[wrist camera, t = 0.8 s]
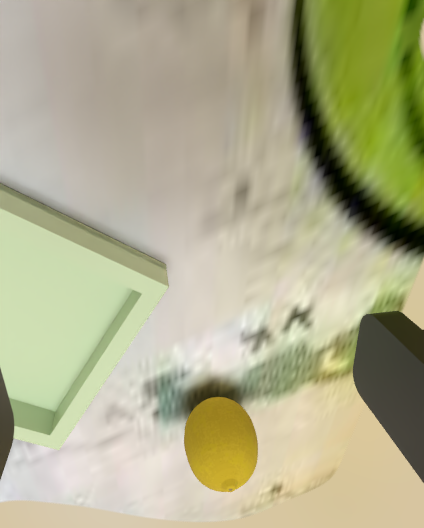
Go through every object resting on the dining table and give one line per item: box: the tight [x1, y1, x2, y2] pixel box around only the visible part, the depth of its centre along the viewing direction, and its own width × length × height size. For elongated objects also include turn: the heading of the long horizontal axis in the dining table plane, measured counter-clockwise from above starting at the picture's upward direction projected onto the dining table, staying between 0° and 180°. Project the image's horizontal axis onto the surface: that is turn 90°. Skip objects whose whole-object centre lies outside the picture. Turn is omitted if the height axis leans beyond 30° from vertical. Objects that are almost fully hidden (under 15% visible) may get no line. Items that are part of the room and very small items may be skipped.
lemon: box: [184, 397, 258, 492], centre depth 31 cm, size 6×6×8 cm
